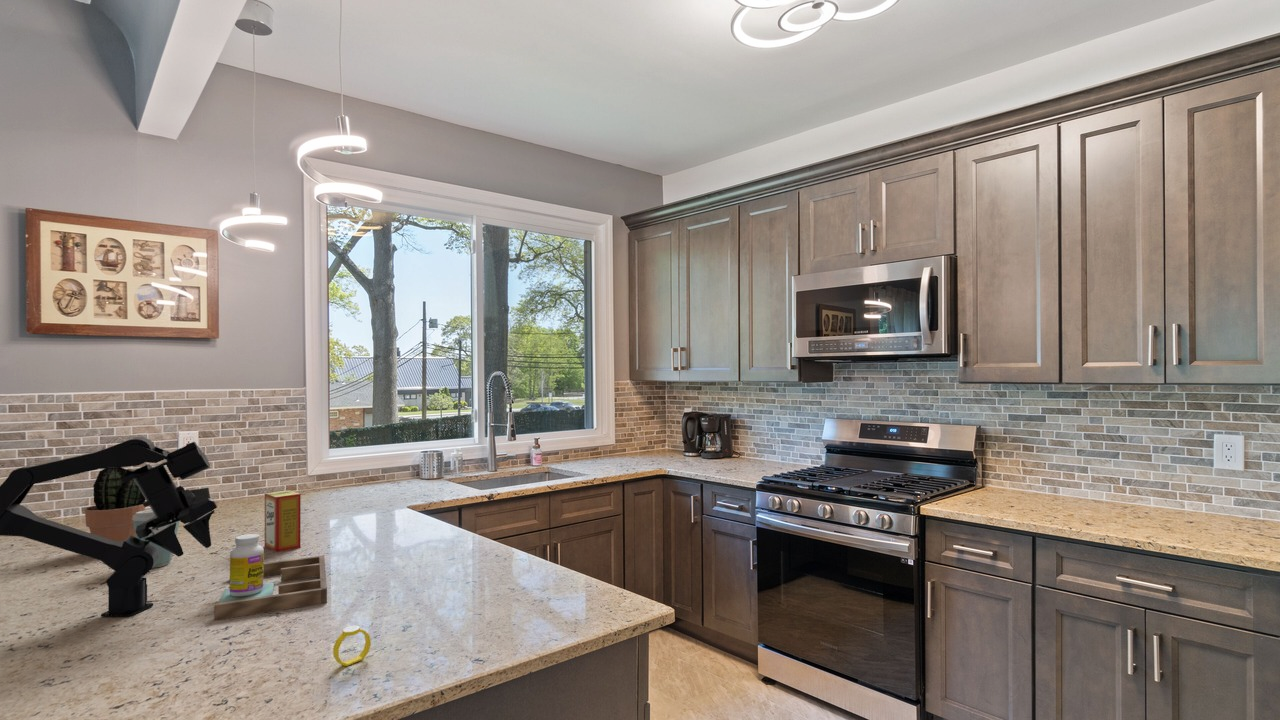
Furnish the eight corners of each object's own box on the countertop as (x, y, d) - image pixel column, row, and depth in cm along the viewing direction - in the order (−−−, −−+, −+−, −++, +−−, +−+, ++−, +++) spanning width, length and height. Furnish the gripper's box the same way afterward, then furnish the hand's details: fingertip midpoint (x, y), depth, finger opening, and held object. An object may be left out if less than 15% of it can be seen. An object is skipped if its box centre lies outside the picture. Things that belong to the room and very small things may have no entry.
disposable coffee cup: (123, 567, 169) (123, 510, 169) (168, 557, 178) (169, 503, 179) (144, 573, 164) (144, 514, 164) (190, 562, 173) (190, 506, 174)
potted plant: (91, 560, 176) (92, 469, 176) (78, 552, 184) (79, 465, 185) (152, 549, 187) (152, 463, 187) (137, 542, 195) (137, 460, 196)
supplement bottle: (247, 598, 143) (247, 540, 143) (222, 596, 144) (222, 539, 145) (270, 588, 149) (270, 533, 150) (246, 587, 151) (246, 532, 151)
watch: (365, 654, 114) (365, 621, 114) (373, 659, 112) (373, 624, 113) (331, 666, 110) (331, 631, 110) (338, 671, 108) (338, 635, 108)
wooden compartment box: (213, 620, 131) (213, 605, 131) (229, 579, 158) (229, 567, 158) (326, 602, 141) (326, 588, 141) (324, 566, 168) (324, 555, 168)
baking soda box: (300, 547, 187) (300, 492, 187) (276, 552, 182) (276, 495, 183) (288, 542, 193) (288, 489, 194) (264, 546, 189) (264, 492, 189)
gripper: (220, 463, 145) (253, 523, 147) (165, 483, 151) (198, 540, 153) (174, 486, 134) (211, 550, 137) (118, 506, 140) (154, 567, 143)
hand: (195, 551), depth 143 cm, fingers open, 9 cm apart
